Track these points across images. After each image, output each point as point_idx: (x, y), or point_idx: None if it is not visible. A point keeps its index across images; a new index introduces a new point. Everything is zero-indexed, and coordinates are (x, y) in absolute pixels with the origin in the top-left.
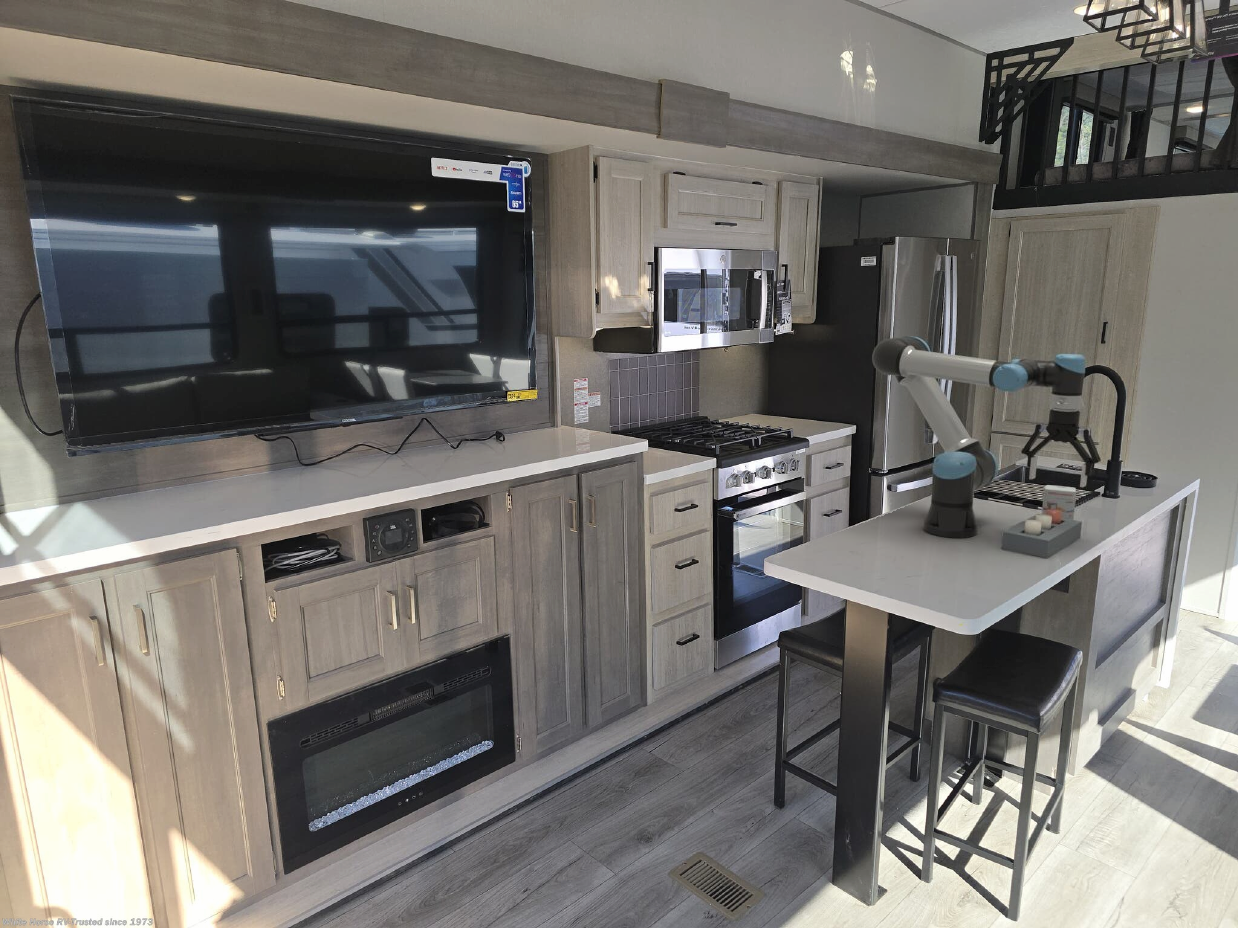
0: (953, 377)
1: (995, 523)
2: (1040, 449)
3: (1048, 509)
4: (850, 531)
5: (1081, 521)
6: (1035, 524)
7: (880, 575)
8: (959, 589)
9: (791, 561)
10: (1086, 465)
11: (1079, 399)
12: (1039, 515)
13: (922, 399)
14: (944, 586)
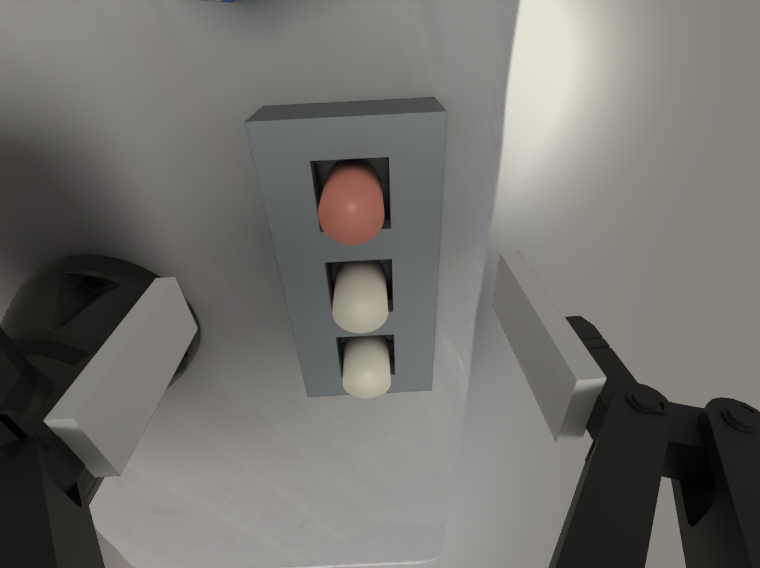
0: None
1: (109, 138)
2: (60, 524)
3: (319, 204)
4: None
5: (445, 112)
6: (381, 393)
7: (273, 539)
8: (381, 521)
9: (154, 563)
10: (584, 416)
11: None
12: (342, 311)
13: None
14: (360, 524)
